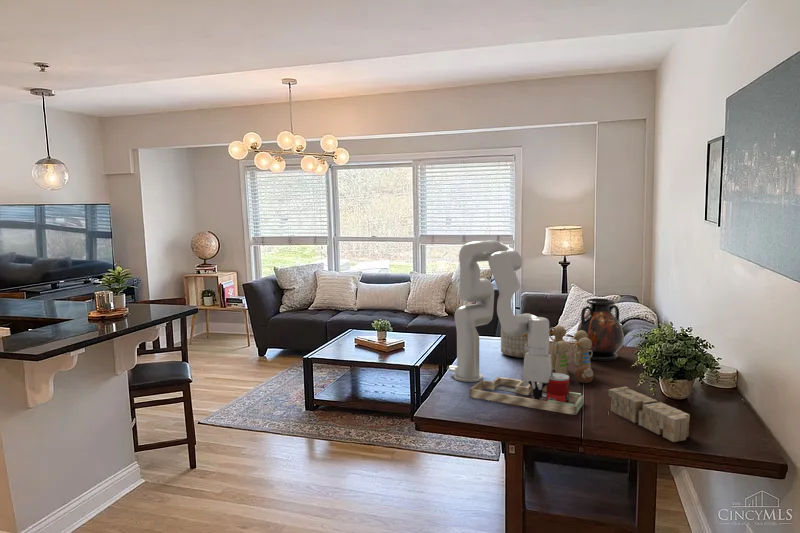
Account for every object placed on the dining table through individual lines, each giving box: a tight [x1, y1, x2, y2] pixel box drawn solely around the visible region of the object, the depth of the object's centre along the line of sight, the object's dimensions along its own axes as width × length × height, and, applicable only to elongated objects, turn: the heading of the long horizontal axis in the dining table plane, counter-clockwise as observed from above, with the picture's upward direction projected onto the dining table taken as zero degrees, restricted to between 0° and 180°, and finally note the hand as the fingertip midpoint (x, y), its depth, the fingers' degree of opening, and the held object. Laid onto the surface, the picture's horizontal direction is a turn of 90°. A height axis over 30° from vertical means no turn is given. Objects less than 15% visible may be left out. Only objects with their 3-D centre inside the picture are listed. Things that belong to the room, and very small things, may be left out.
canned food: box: [545, 372, 570, 403], centre depth 196 cm, size 8×8×11 cm
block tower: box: [608, 386, 691, 443], centre depth 179 cm, size 8×8×29 cm
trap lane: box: [468, 376, 585, 416], centre depth 205 cm, size 40×20×4 cm, turn 60°
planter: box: [500, 325, 528, 359], centre depth 265 cm, size 19×19×16 cm
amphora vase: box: [576, 297, 625, 362], centre depth 258 cm, size 22×22×28 cm
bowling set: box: [523, 325, 595, 384], centre depth 231 cm, size 38×26×20 cm
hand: (537, 398), depth 200 cm, fingers closed
